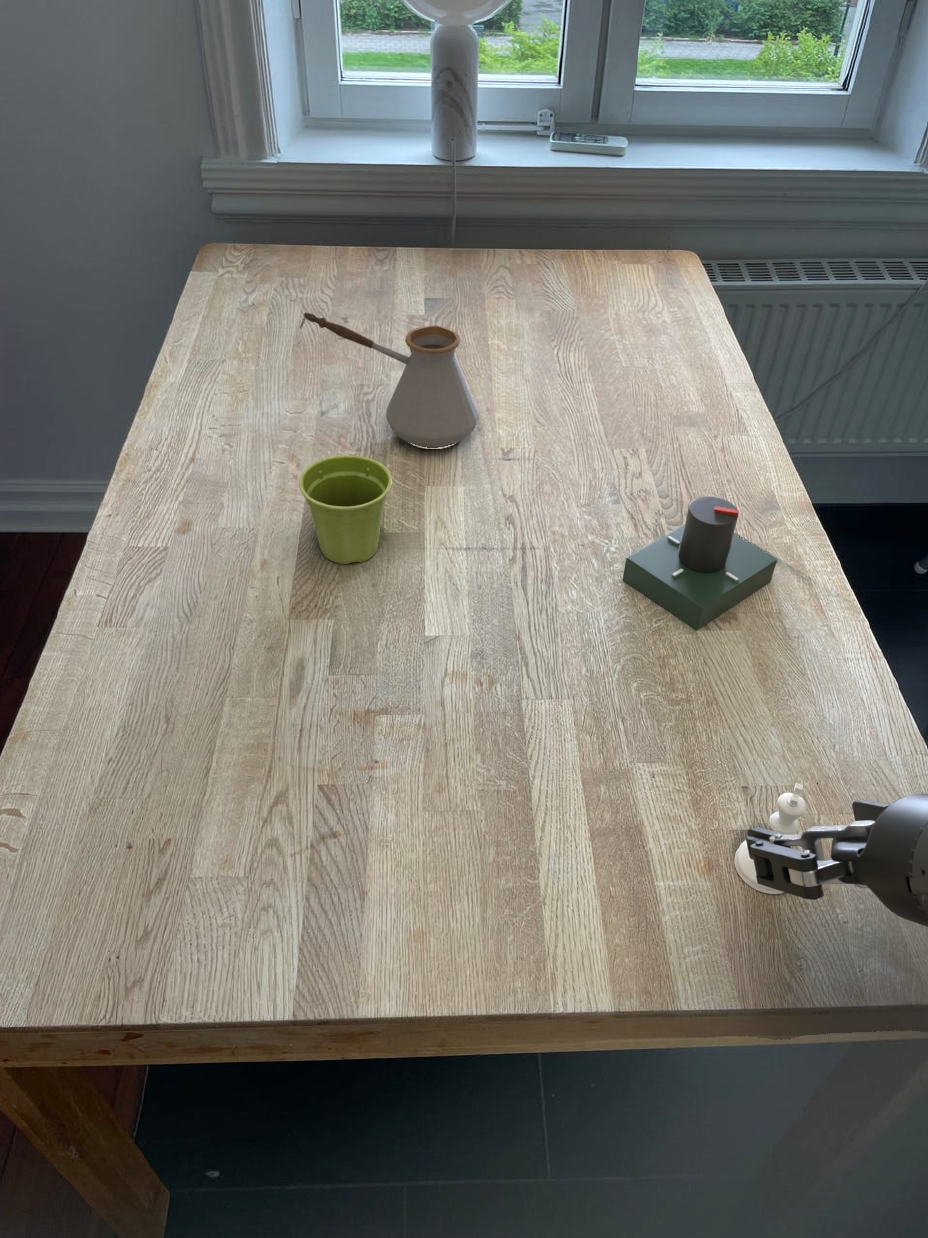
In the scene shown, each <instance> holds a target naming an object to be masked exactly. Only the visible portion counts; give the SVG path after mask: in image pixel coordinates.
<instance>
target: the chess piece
mask: <svg viewBox="0 0 928 1238" xmlns="http://www.w3.org/2000/svg"><path fill="white" fill-rule="evenodd" d="M803 786H804V785H803V784H802V783H799V782H795V784H794V787H793V791H792V792H785V793H782V794H781V795H780V796H778V799H777V811H776V812H774V813H772V814H771V815H770V817H769V820H768V822H769V826H770V828H771V829H772V831H775V832H778V833H782V834H798V832H799V829H800V825H799V821H798V819H799V818H800V817H802V816H803V815H804V814H805V813H806V811H807V803H806V802H805V800H804V799H803V798H802V797H801V793H802V791H803ZM733 860H734V867H735V870H736V872H737V874H738V876H739V877H740V879H742V880H743V882H744V883H745V884H746V885H748V887H750V888H752V889H753V890H756V891H758V892H761V893H764V894H767V895H768V894H769V895H779V894H784V893H785V892H782V891H779V890H776V889H773V888H770V887H766V886H763V885H760V884H758V883H757V879H756V870H755V865H754V860H753V859H750V857H749V852H748V847H747V842H746V839H745V840H744V841H742V842H741V844H740V845H739V847H738V848H737V850H736V852H735V854H734V859H733Z"/></svg>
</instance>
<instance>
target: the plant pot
mask: <svg viewBox="0 0 928 1238" xmlns="http://www.w3.org/2000/svg"><path fill="white" fill-rule="evenodd" d="M392 486H393V477H392V474H391V472H390V470H389V469H388V468H387V467H386V466H385V465H384V464H382V463H381V462H380V461H377V460H376V459H373V458H370V457H367V456H363V455H357V454H356V455H353V454H344V455H343V454H340V455H333V456H328V457H325V458H322V459H319V460H317V461H315V462H313V463H311V464H309V466H307V467H306V468H305V469H304V470H303V472H302V473H301V475H300V476H299V480H298V487H299V491H300V493H301V494H302V496H303V497H304V499H305V501H306V503H307V504H308V506H309V509H310V512H311V517H312V518H313V524H314V528H315V531H316V532H315V533H316V535H317V539H318V543H319V548H320V551H321V553H322V555H323V556H324V557H325V558H326V559H327V560H329V561H331V562H334V563H337V564H342V565H348V564H350V563H364V562H366V561H368V560H370V559H371V558H372V557H373V556H375V554H377V553H376V552H377V551H378V548H379V542H380V534H381V526H382V518H383V511H384V505H385V502H386V500H387V497H388V494H389V493H390V491H391V489H392Z"/></svg>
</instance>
